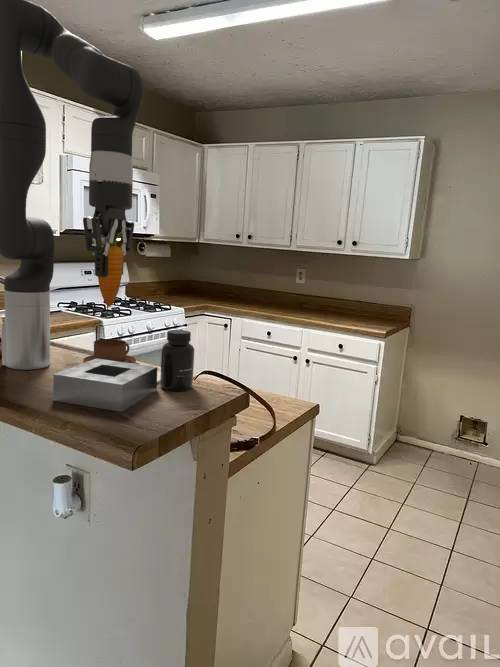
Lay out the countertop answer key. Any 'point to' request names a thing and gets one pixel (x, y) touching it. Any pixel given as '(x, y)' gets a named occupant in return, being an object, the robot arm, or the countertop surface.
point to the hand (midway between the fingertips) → (109, 275)
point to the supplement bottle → (177, 361)
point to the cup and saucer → (111, 351)
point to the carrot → (112, 273)
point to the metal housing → (105, 384)
